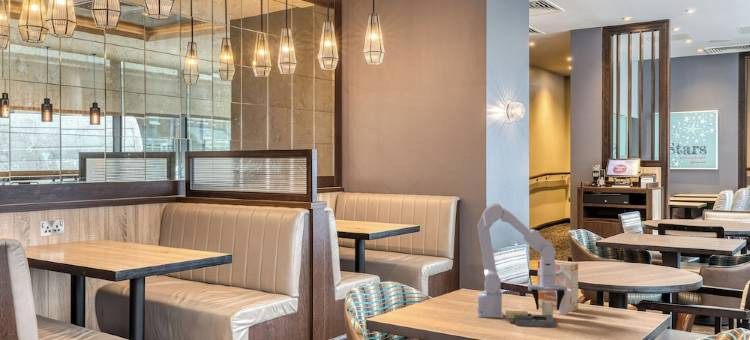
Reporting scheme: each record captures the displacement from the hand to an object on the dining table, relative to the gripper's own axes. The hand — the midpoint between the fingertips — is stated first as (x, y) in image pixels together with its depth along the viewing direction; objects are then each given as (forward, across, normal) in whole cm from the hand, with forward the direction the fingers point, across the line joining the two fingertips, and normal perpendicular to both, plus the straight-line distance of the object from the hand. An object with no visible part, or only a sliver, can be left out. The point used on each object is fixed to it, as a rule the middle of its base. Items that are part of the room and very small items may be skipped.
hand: (547, 309), depth 252 cm
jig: (+3, -6, -9) cm, 11 cm away
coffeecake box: (+4, +6, +18) cm, 19 cm away
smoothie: (+4, +7, +8) cm, 11 cm away
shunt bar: (+1, -12, -9) cm, 15 cm away
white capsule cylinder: (+3, 0, 0) cm, 3 cm away
